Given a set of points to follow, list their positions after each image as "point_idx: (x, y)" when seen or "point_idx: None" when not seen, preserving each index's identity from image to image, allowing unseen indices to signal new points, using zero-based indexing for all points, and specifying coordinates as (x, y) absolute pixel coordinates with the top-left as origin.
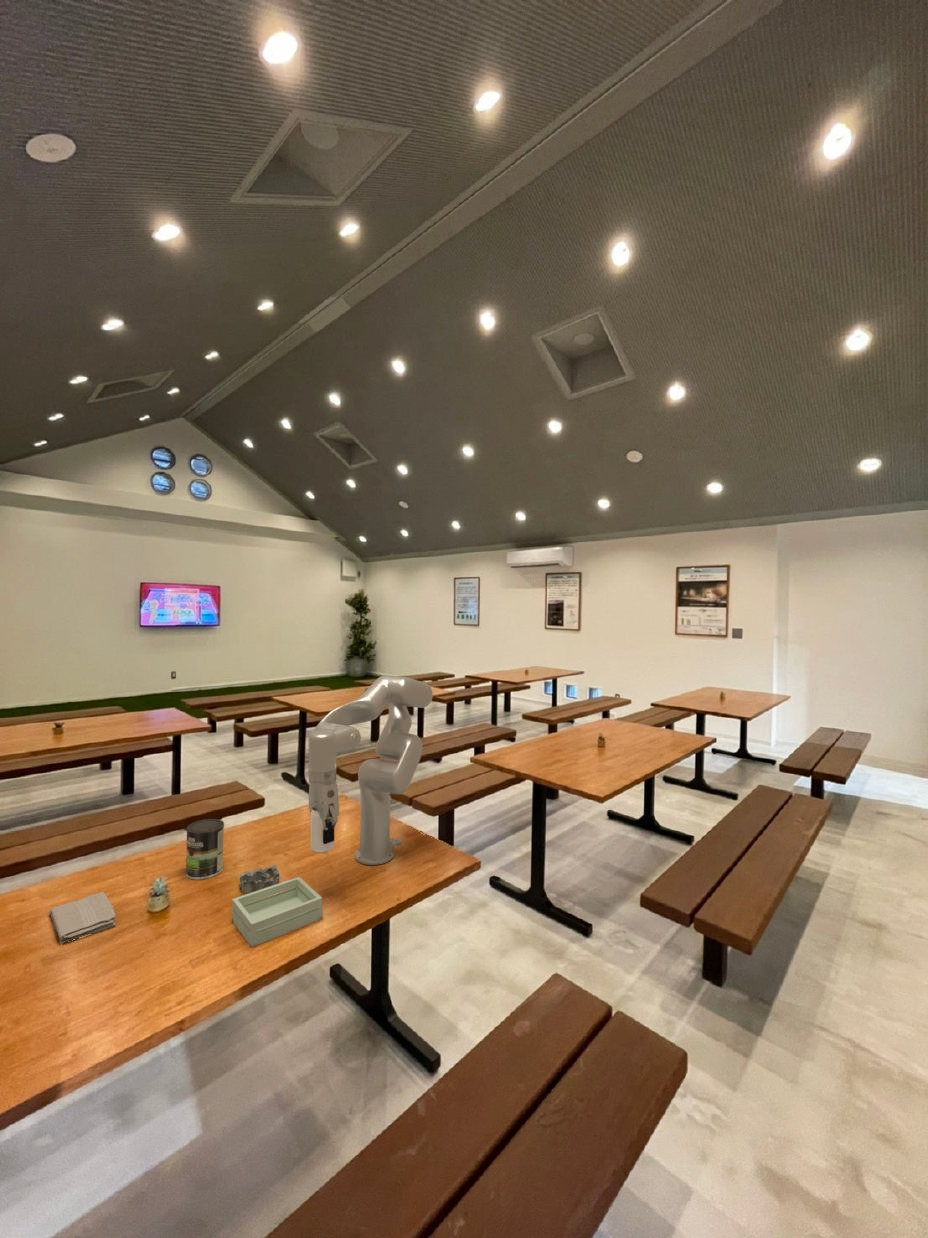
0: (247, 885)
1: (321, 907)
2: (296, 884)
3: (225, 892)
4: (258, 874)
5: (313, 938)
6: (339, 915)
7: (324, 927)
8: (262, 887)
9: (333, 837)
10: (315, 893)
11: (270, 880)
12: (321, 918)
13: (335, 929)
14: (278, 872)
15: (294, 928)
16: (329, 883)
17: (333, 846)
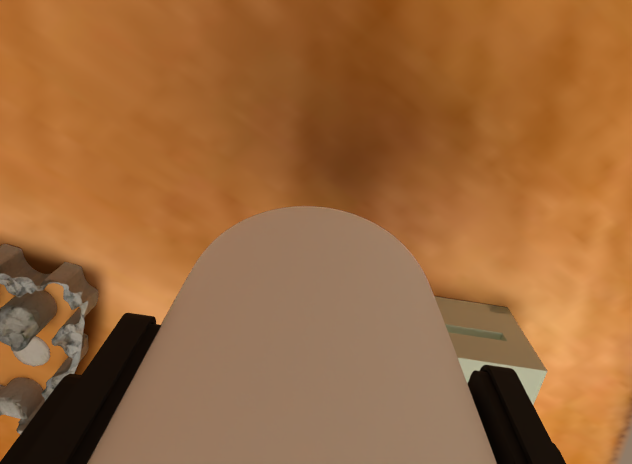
0: None
1: (525, 341)
2: None
3: (12, 434)
4: None
5: (579, 396)
6: (558, 241)
7: (565, 333)
8: (83, 349)
9: (525, 410)
10: (478, 367)
11: (73, 332)
12: (508, 311)
13: (620, 314)
14: (24, 278)
15: None
16: (263, 82)
17: (421, 270)
